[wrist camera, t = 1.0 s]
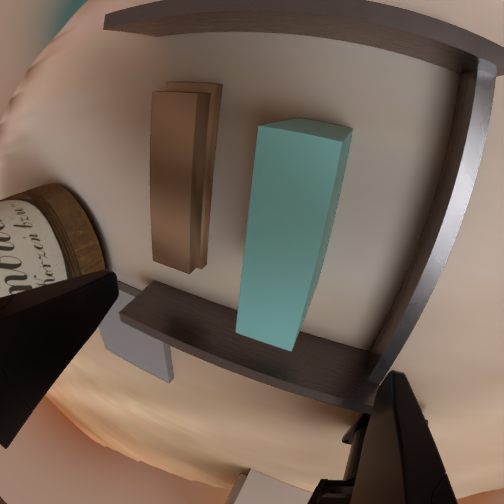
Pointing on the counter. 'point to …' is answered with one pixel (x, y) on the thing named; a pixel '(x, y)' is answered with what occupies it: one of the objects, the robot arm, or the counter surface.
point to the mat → (135, 340)
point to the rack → (434, 234)
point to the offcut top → (177, 176)
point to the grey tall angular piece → (265, 491)
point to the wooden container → (45, 239)
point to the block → (289, 225)
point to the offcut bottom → (209, 154)
